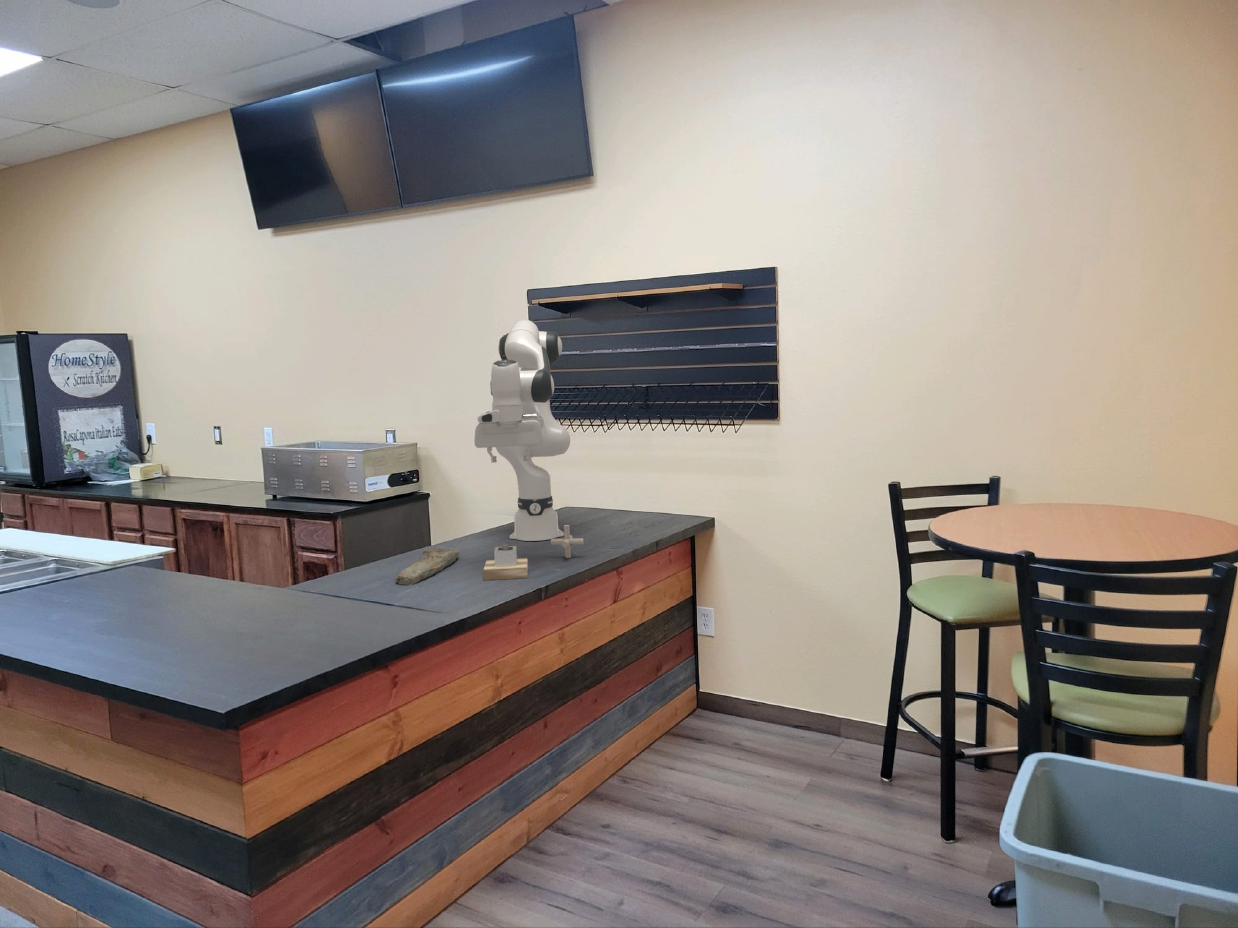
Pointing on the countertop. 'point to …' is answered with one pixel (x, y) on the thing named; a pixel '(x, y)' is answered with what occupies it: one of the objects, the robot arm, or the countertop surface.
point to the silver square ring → (505, 556)
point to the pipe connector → (567, 541)
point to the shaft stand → (506, 569)
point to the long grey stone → (427, 565)
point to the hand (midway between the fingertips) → (510, 461)
